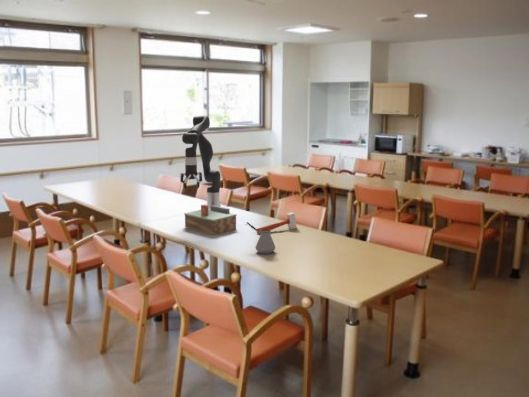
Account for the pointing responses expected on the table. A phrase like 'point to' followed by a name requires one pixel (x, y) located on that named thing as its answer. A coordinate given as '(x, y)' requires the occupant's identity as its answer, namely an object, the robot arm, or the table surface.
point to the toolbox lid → (213, 214)
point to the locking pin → (204, 210)
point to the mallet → (283, 223)
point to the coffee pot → (264, 241)
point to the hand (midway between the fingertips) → (191, 188)
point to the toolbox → (210, 225)
